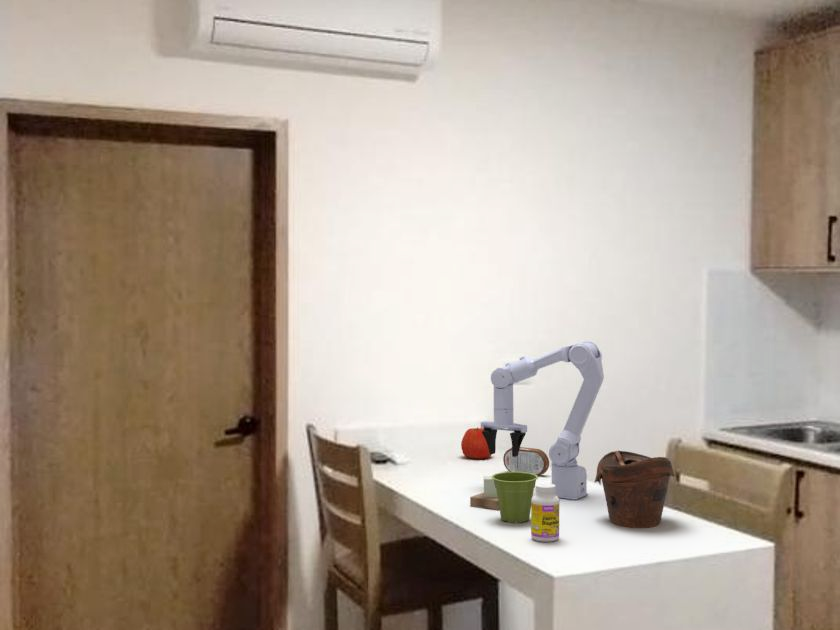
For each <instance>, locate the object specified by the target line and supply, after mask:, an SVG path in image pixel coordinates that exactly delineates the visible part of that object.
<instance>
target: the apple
mask: <svg viewBox="0 0 840 630" xmlns="http://www.w3.org/2000/svg"><path fill="white" fill-rule="evenodd" d="M483 430H484V429H481V427H476V428H474V427H473V428H468V429H467V430H466V431H465V433H464V435H463V436H462V440H461V445H460V447H461V452H462V454H463V455H464V457H466V458H469V459H476V460H477V459H478V460H482V459H488V458H490V457H491V456H492V455H493V454H490V453H489V449H488V445H487V442H486V440H485V438H484V436H483V434H482V431H483Z"/></svg>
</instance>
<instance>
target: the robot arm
mask: <svg viewBox="0 0 840 630" xmlns="http://www.w3.org/2000/svg"><path fill="white" fill-rule="evenodd" d="M602 358H603V355H602V352H601V351H600V348H599V347H598V346H597V344H596V343H594V342H592V341H584V342H581V343H576V344H571V345H566V346H561V347H559V348H557V349H554V350H552V351H550V352H547V353H545V354H544V355H541V356H539V357H536V358H532V357H530V356H527V357H526V356H521V357H519V360H517V361H514V362H512V363H510V362H508V363H504V366H502V367H497V368H496V369H494V370H493V371H492V373H491V374H490V381H491V384H492V385H493V421H480V428H481V429H484V430H483V431H482V434H483V436H484V438H485V440H486V442H487V445H488V449H489V453H490V454H492V455H494V454H496V446H497V445H496V441H497V434H498V431H505V432H506V431H507V432H508V431H509V432H510V433H509V436H510V439H511V448H512V456H513V457H516V456H518V453H519V449H520V447H521V445H522V442H523V440H524V438H525V436H526V433H527V432H528V425H526V424H521V423H515V422H514V384H516V383H520V382H522V381H524V380H527V379H530V378H532V377H535V376H536V375H537V374H538V371H539V370H540V369H543V368H546V367H548V366H550V365H551V366H552V365H553V364H556V363H559V362H564V363H572V365H573V366H575V368H576V369H577V370H578V371H579V372H580V375H581V376H582V379H583V381H582V383H581V386H580V388H579V391H578V393H577V396H576V398H575V401H574V402H573V405H572V408H571V410H570V413H569V415H568V418H567V420H566V423H565V425H564V427H563V430H562V431H561V433H560V434H559V436H558V438H557V439H556V441H555V443H554V444H552V445H551V446H550V448H549V450H548V458H549V460H550V461H551V484H554V485H555V492H554V494H555V495H556V496H557V497H558V498H559V499H567V500H575V501H576V500H579V499H581V498H583V497H586V496H588V495H589V494H588V492H587V491H588V490H587V488H588V487H587V483H588V482H587V476H588V475H587V474H588V473H587V469H586V468H585V466H582V465H578V461H577V459H576V458H577V457H578V456H579V454H580V443H581V441H582V438H581V437H582V436H581V435H582V433H583V430H584V427H585V425H586V422H587V420H588V418H589V416H590V413H591V411H592V408H593V406H594V403H595V402H596V398H597V396H598V394H599V391H600V389H601V386H602V384H603V382H604V378H605V377H604V376H605V375H604V368H603V363H602V360H603V359H602Z"/></svg>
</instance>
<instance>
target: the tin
mask: <svg viewBox="0 0 840 630" xmlns="http://www.w3.org/2000/svg"><path fill="white" fill-rule="evenodd" d="M503 465H504V467H505V469H506V470H507V472H526V473H532V474H535V475H537V476H538V477H539V476H541V475H544V474H546V472H547V471H548V470H549V467H550V458H549V456H548V455H547V453H545V451H543V450H542V449H540V448H534V447H523V446H520V449H519V453H518V456H516V457H513V456H512V447H510V448H509V449H507V450H506V451H505V453H504V454H503Z"/></svg>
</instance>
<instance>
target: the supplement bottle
mask: <svg viewBox="0 0 840 630" xmlns="http://www.w3.org/2000/svg"><path fill="white" fill-rule="evenodd" d="M534 489H535V492H536V493H535V495H534V494H533V497H532V499H531V511H530V517H531V518H530V521H531V523H530V527H531V528H530V537H531V538H532V540H534V541H537V542H543V543H545V542H546V543H550V542H555V541H557V540H559V538H560V498H559V497H557V496H556V495H555V494H554V492H555V485H554V484H552V483H548V482H547V483H546V482H543V483H535V488H534Z"/></svg>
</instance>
